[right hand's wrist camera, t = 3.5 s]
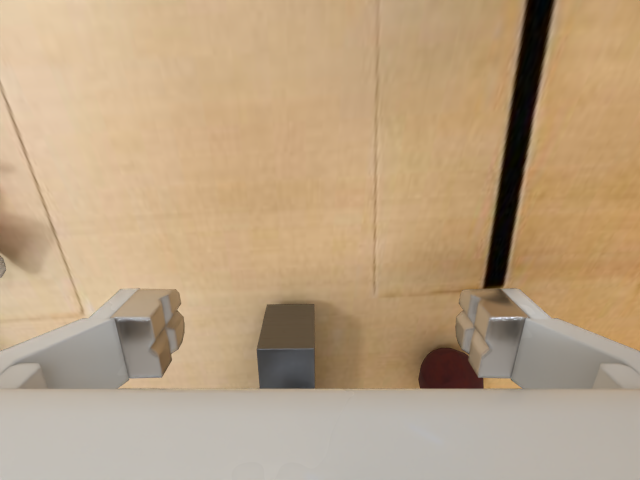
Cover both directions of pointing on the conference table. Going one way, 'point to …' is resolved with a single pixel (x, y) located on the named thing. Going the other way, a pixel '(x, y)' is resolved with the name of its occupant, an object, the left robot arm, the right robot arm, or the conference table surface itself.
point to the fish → (2, 267)
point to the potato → (448, 371)
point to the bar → (287, 347)
